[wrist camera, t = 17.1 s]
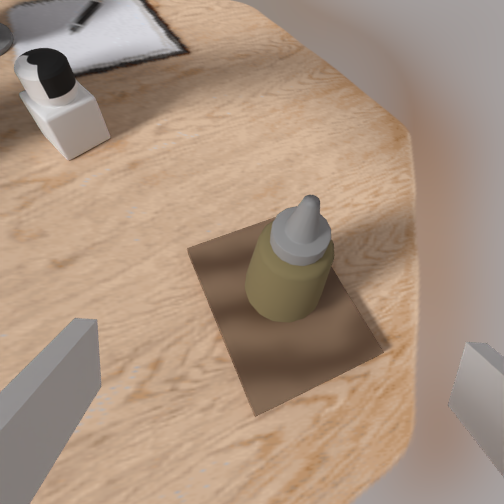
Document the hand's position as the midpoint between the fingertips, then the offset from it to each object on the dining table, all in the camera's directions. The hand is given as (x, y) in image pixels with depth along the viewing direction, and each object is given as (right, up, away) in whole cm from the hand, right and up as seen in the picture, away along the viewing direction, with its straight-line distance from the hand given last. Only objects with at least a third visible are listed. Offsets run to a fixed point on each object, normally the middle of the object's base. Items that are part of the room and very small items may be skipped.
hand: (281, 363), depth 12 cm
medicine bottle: (-27, +21, +39) cm, 52 cm away
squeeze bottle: (+2, -1, +27) cm, 27 cm away
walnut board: (+2, -2, +28) cm, 28 cm away
